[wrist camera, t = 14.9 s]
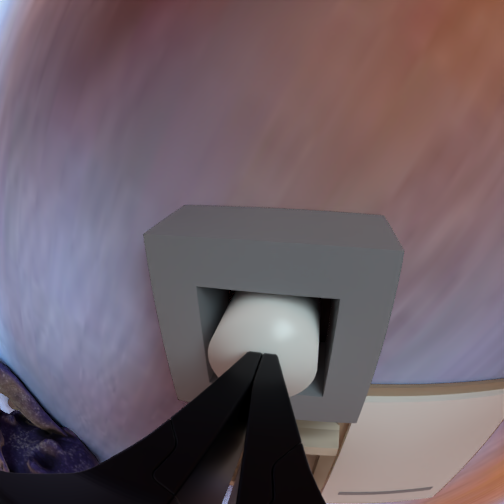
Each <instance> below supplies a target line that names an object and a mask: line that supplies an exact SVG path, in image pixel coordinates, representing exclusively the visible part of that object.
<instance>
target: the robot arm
mask: <svg viewBox="0 0 504 504" xmlns="http://www.w3.org/2000/svg"><path fill="white" fill-rule="evenodd" d="M243 448H244V449H243ZM242 451H243V456H242V463H241V470H240V477H239V484H238V491H237V498H236V504H326V503H325V500H324V498H323V496H322V494H321V492H320V490H319V488H318V486H317V484H316V481H315V479H314V477H313V474H312V472H311V469H310V466H309V463H308V460H307V457H306V454H305V451H304V447H303V444H302V441H301V437H300V433H299V430H298V426H297V423H296V419H295V416H294V412H293V408H292V405H291V401H290V398H289V394H288V391H287V387H286V383H285V380H284V376H283V373H282V369H281V365H280V362H279V358H278V356H277V355H276V354H270V353H264V354H262V353H261V352H253V351H249V352H247V353H246V354H245V355H244V356H242V357H241V358H240V359H239V360H238V361H237V362H236V363H235V364H234V365H232V366H231V367H230V368H229V369H228V370H227V371H226V372H224V373H223V374H222V375H221V376H220V377H219V378H218V379H216V380H215V381H214V382H213V383H212V384H211V385H210V386H208V387H207V388H206V389H205V390H204V391H202V392H201V393H200V394H199V395H198V396H197V397H195V398H194V399H193V400H192V401H191V402H189V403H188V404H187V405H186V406H185V407H183V408H182V409H181V410H180V411H179V412H177V413H176V414H175V415H174V416H172V417H171V420H170V419H169V420H167V421H166V422H165V423H164V424H162V425H161V426H160V427H158V428H157V429H156V430H154V431H153V432H152V433H150V434H149V435H148V436H146V437H145V438H143V439H142V440H140V441H138V442H137V443H135V444H134V445H132V446H130V447H129V448H127V449H125V450H124V451H122V452H120V453H118V454H116V455H115V456H113V457H111V458H109V459H107V460H106V461H104V462H102V463H100V464H98V465H96V466H94V467H92V468H90V469H87V470H84V471H80V472H75V473H55V474H32V473H12V472H5V471H2V470H0V504H222V501H223V499H224V496H225V494H226V492H227V489H228V487H229V484H230V482H231V479H232V477H233V474H234V472H235V469H236V467H237V464H238V462H239V459H240V456H241V454H242Z"/></svg>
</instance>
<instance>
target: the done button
mask: <svg viewBox="0 0 504 504" xmlns="http://www.w3.org/2000/svg"><path fill="white" fill-rule="evenodd" d="M320 313H321V305H320V300H319V298H318V297H305V296H292V295H281V294H269V293H258V292H248V291H237V290H236V291H235V293H234V295H233V297H232V299H231V301H230V303H229V305H228V307H227V309H226V311H225V313H224V315H223V317H222V319H221V321H220V323H219V325H218V327H217V329H216V331H215V333H214V335H213V337H212V339H211V341H210V344H209V347H208V358H209V362H210V365H211V367H212V369H213V371H214V372H215V374H216V375H217V376H218V377H220V376H221V375H222V374H223V373H224V372H226V371H227V370H228V369H229V368H230V367H231V366H232V365H234V364H235V363H236V362H237V361H238V360H239V359H240V358H241V357H242V356H244V355H245V354H246V353H247V352H249V351H253V352H261V353H262V354H264V353H270V354H276V355H277V356H278V358H279V362H280V365H281V369H282V373H283V376H284V380H285V383H286V387H287V391H288V394H289V397H291V396H294V395H296V394H298V393H300V392H302V391H303V390H304V389H306V388H307V387H308V386H309V385H310V384H311V382H312V381H313V380H314V378H315V375H316V372H317V363H318V349H319V332H320Z"/></svg>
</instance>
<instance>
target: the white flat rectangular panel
mask: <svg viewBox="0 0 504 504" xmlns="http://www.w3.org/2000/svg"><path fill="white" fill-rule="evenodd" d="M503 420H504V378H502V379H494V380H484V381H473V382H459V383H441V384H370V387H369V390H368V393H367V396H366V399H365V402H364V404H363V407H362V410H361V413H360V415H359V418H358V420H357V423H338V425H339V448H338V451H337V454H336V456H335V459H334V461H333V463H332V466H331V468H330V471H329V473H328V475H327V478H326V480H325V482H324V484H323V487H322V489H321V491H320V492H321V494H322V496H323V498H324V500H325V503H338V504H360V503H385V502H398V501H408V500H417V499H425V498H432V497H433V496H435V495H436V494H437V493H438V492H439V491H440V490H441V489H442V488H443V487H444V486H445V485H446V484H447V483H448V482H449V481H450V480H451V479H452V478H453V477H454V476H455V475H456V474H457V473H458V472H459V471H460V470H461V469H462V468H463V467H464V466H465V465H466V464H467V463H468V462H469V461H470V460H471V459H472V457H473V456H474V455H475V454H476V453H477V452H478V451H479V450H480V448H481V447H482V446H483V445H484V444H485V442H486V441H487V440H488V439H489V438H490V436H491V435H492V434H493V433H494V431H495V430H496V429H497V428H498V426H499V425H500V424H501V422H502V421H503Z"/></svg>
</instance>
